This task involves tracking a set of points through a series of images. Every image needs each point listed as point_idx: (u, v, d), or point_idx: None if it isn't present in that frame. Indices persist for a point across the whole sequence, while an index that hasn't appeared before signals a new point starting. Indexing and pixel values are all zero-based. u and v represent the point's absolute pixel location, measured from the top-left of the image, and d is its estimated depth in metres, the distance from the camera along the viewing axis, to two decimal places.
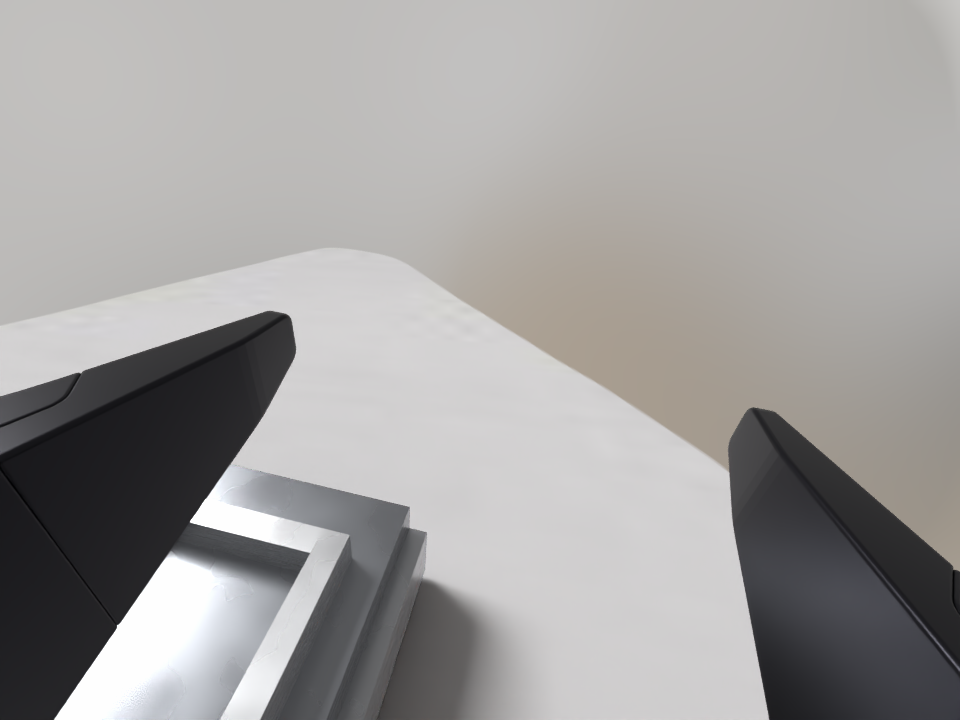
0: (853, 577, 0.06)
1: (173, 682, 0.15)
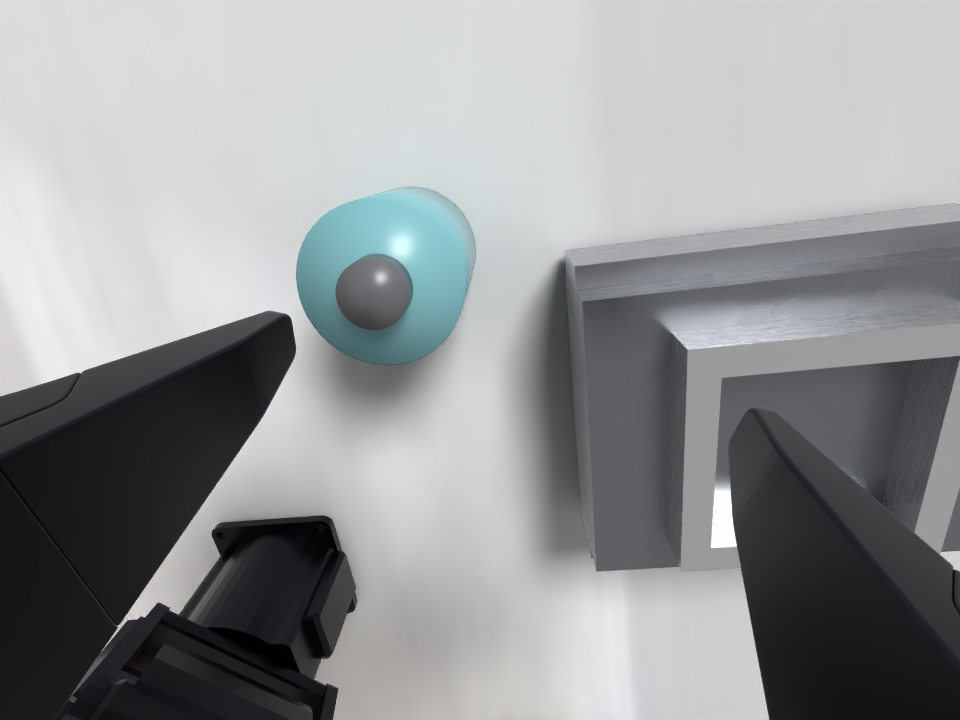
0: (853, 577, 0.06)
1: None
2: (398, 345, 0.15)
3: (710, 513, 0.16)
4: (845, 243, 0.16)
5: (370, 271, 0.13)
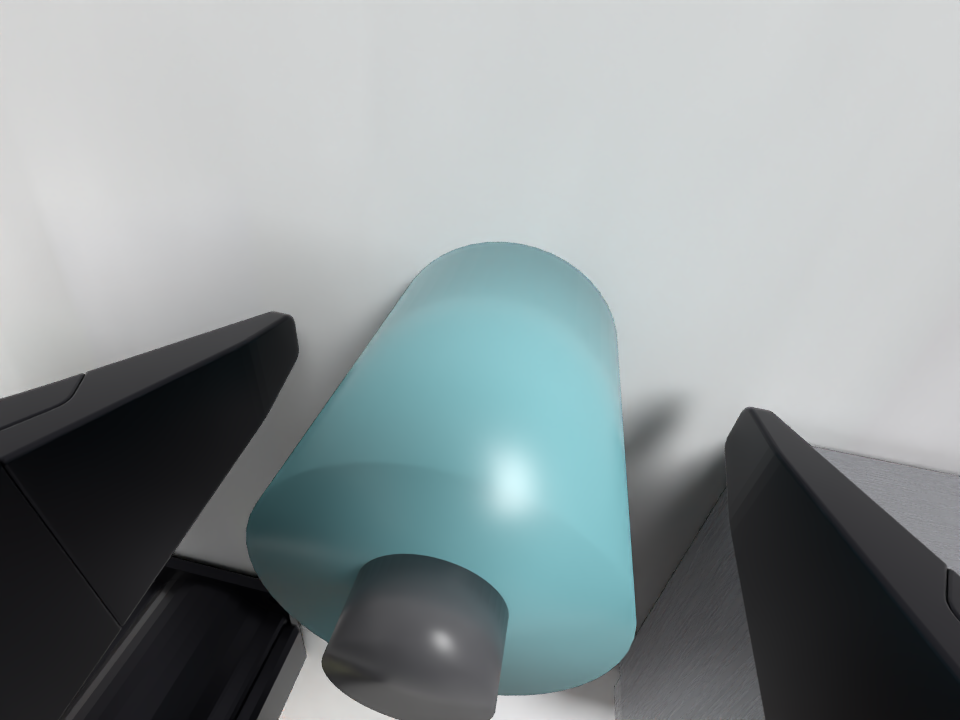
0: (848, 576, 0.06)
1: None
2: None
3: None
4: None
5: (420, 664, 0.05)
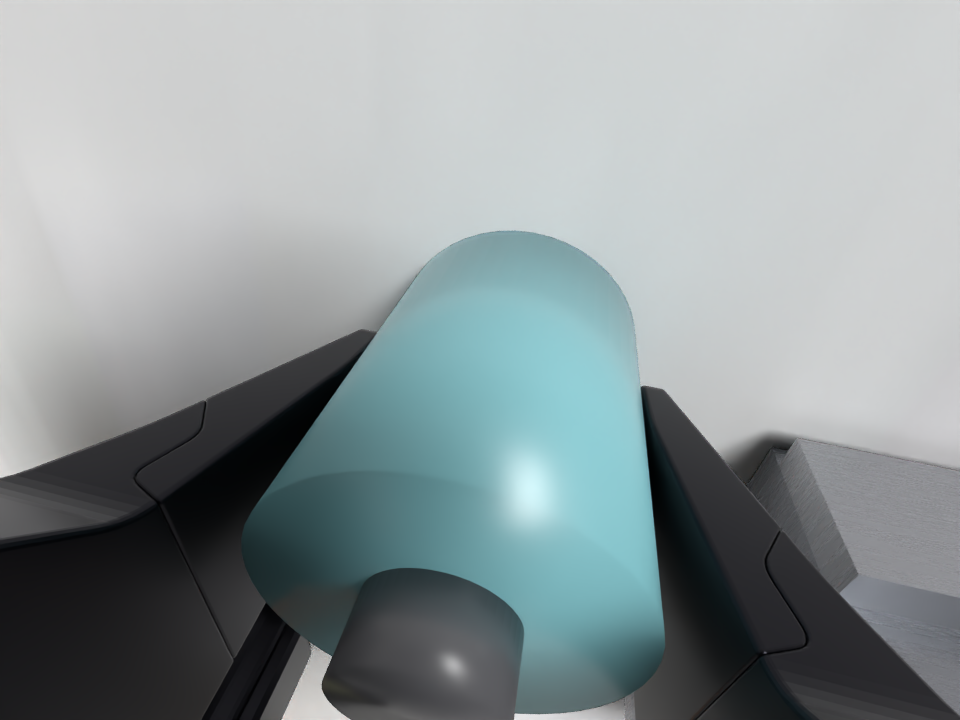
0: (687, 539, 0.06)
1: None
2: None
3: None
4: None
5: (429, 692, 0.05)
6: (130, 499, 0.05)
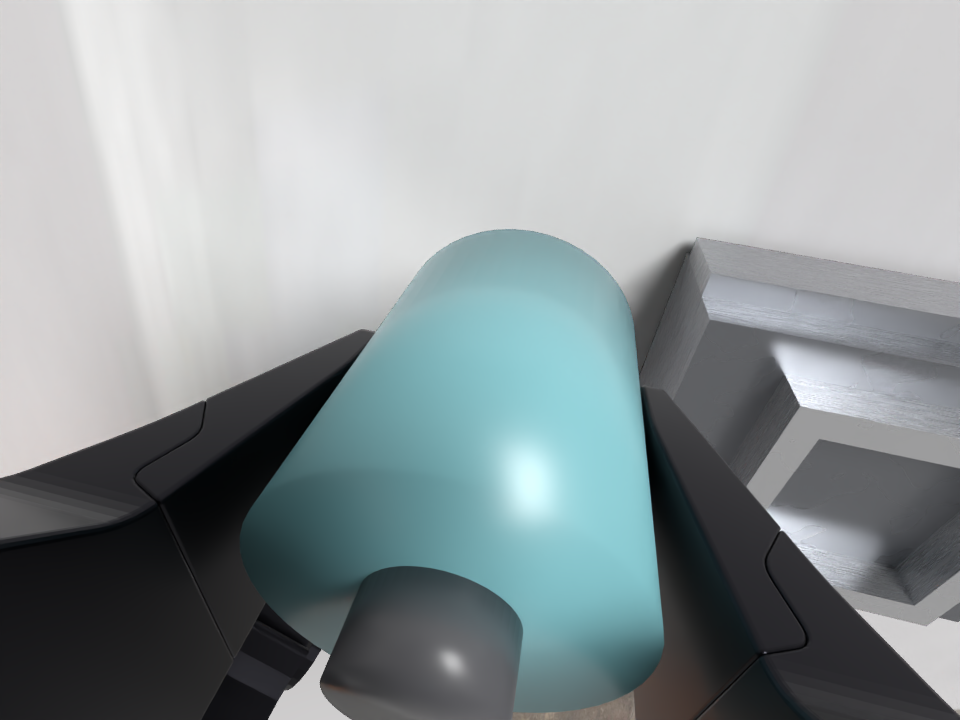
0: (687, 538, 0.06)
1: (814, 502, 0.18)
2: None
3: None
4: None
5: (427, 690, 0.05)
6: (129, 499, 0.05)
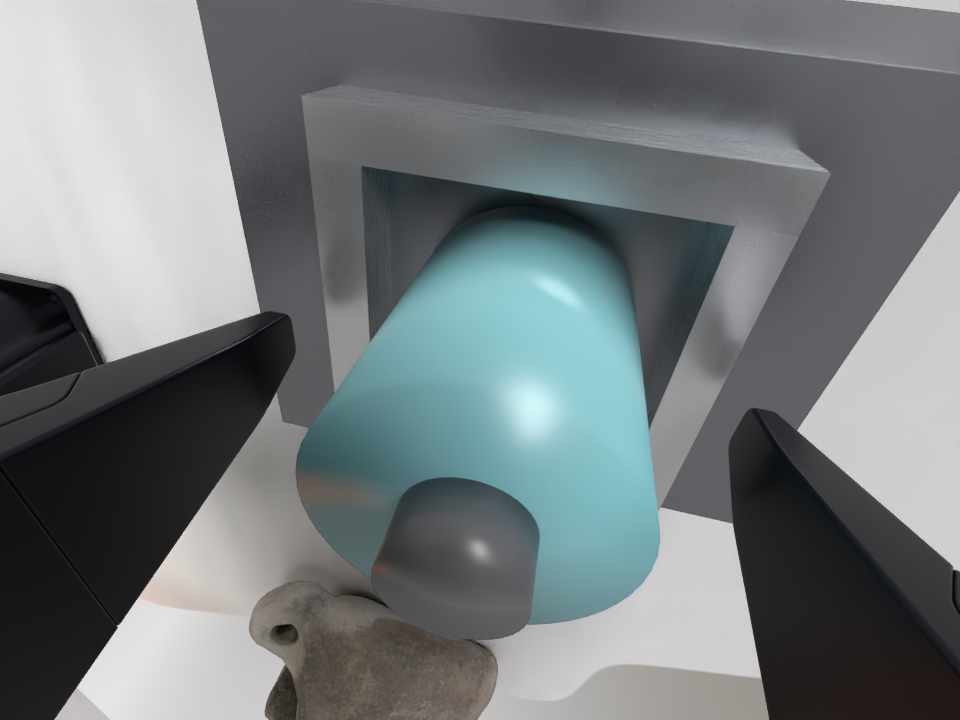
0: (853, 577, 0.06)
1: None
2: None
3: None
4: (670, 2, 0.09)
5: (464, 568, 0.05)
6: None
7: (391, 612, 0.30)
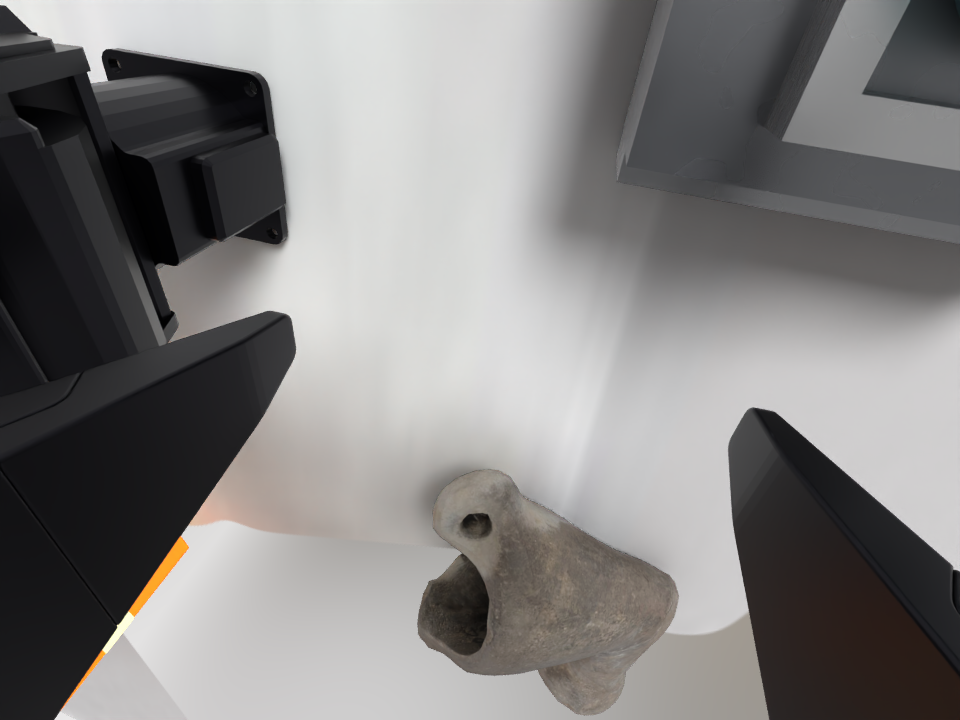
0: (853, 577, 0.06)
1: None
2: None
3: None
4: None
5: None
6: None
7: (565, 520, 0.27)
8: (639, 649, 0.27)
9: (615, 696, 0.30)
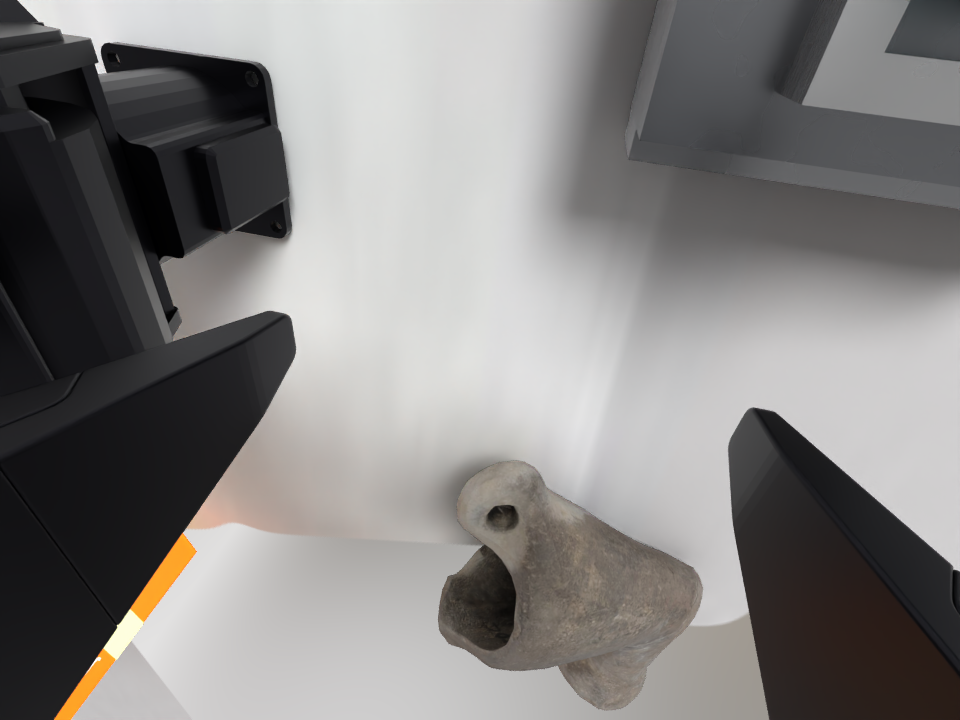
0: (853, 577, 0.06)
1: None
2: None
3: None
4: None
5: None
6: None
7: (588, 512, 0.27)
8: (664, 642, 0.26)
9: (637, 690, 0.29)
